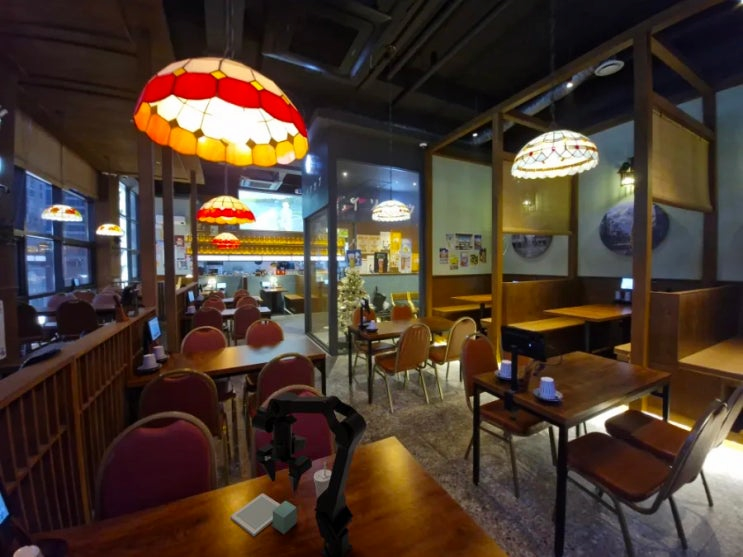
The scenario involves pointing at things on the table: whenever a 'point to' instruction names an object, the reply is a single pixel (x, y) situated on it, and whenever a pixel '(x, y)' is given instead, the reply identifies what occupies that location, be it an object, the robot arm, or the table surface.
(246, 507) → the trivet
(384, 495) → the table surface
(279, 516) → the cube
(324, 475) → the smoothie
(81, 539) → the table surface
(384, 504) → the table surface
